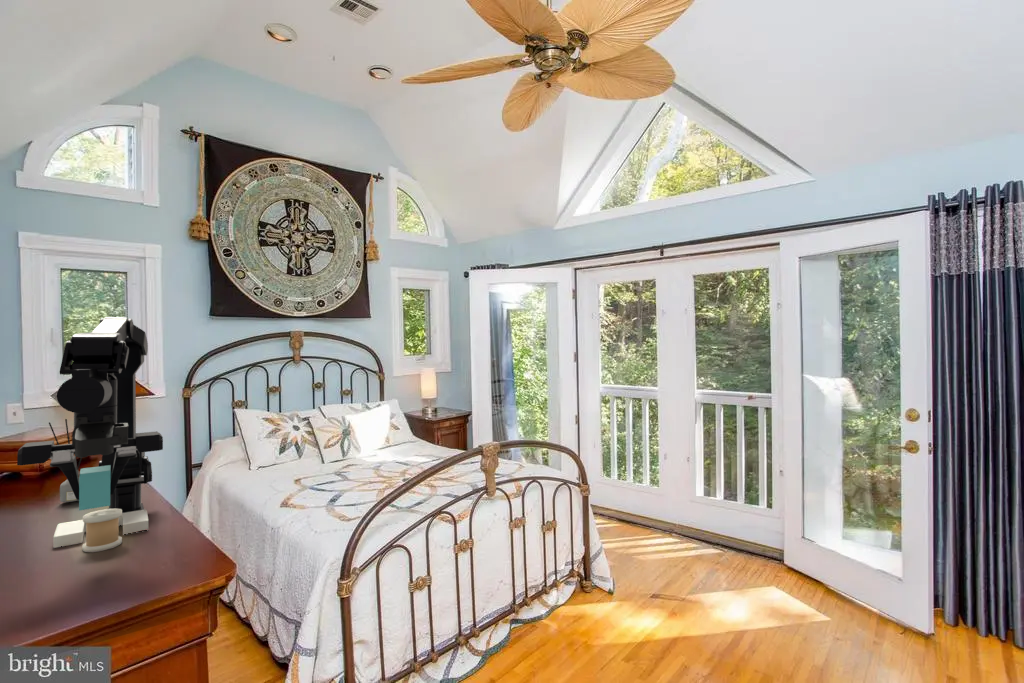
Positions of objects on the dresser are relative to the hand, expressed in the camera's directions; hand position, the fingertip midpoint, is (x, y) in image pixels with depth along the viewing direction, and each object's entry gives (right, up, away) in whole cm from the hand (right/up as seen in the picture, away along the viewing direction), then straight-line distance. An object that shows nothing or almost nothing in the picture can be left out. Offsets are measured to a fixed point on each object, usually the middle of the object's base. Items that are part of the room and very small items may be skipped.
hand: (95, 497), depth 85 cm
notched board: (-9, -11, +13) cm, 20 cm away
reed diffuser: (-33, -12, +34) cm, 49 cm away
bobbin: (-4, -11, +6) cm, 13 cm away
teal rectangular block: (0, -1, 0) cm, 1 cm away
